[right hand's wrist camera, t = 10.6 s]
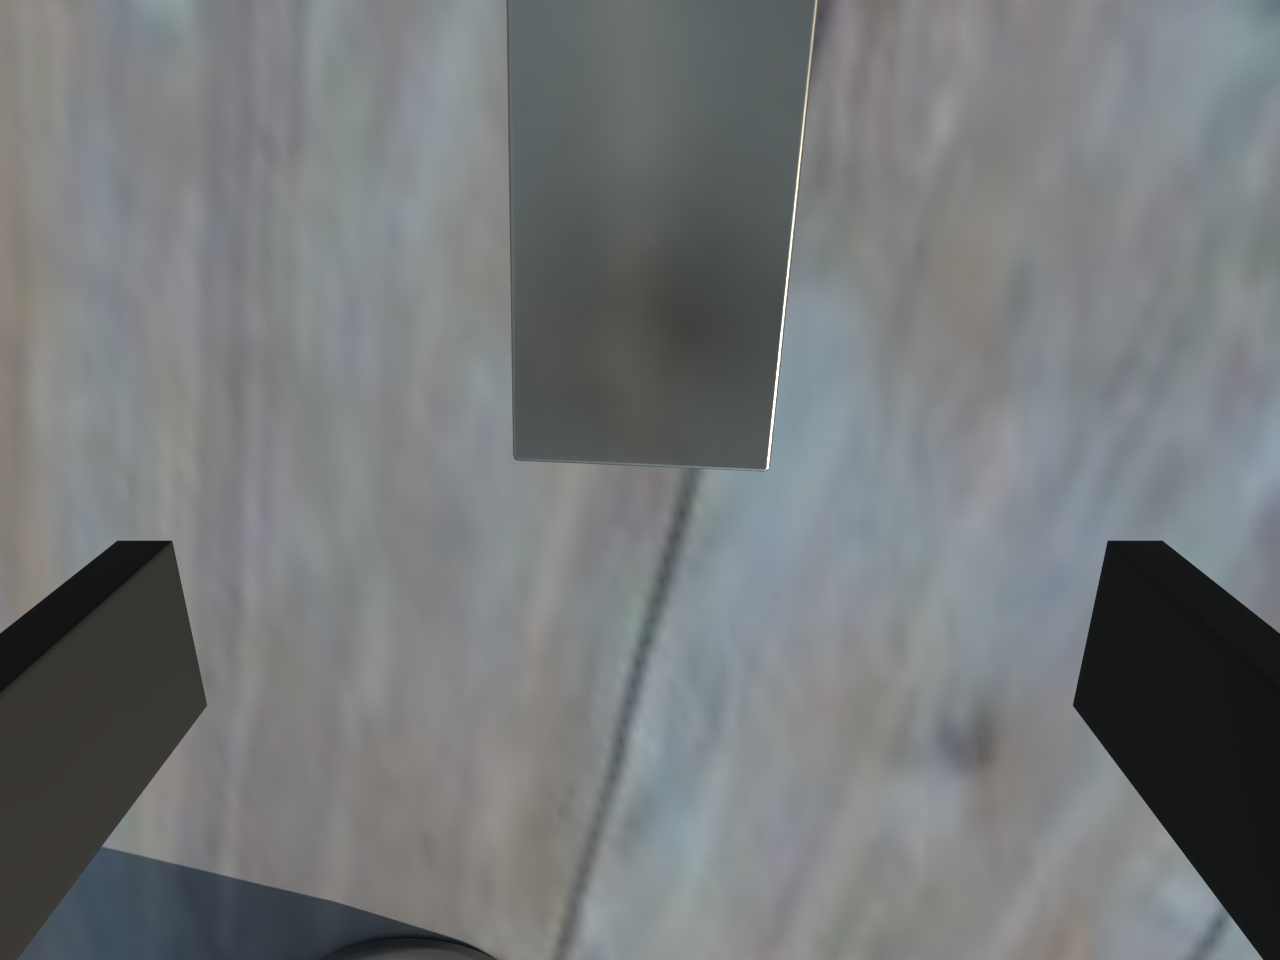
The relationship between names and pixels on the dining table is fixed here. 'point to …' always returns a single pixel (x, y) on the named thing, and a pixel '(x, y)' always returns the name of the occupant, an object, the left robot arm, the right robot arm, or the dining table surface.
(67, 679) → the right robot arm
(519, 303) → the bar
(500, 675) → the dining table surface
